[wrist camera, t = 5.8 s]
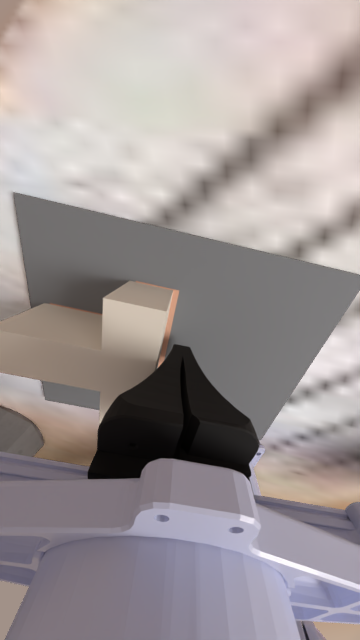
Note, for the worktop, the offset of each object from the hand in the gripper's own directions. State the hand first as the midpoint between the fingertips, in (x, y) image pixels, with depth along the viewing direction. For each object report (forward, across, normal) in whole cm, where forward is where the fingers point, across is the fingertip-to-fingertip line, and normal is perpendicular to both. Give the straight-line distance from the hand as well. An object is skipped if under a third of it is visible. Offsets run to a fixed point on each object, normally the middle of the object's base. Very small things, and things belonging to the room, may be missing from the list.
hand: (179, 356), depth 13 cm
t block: (+1, +6, 0) cm, 6 cm away
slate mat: (+2, 0, 0) cm, 2 cm away
